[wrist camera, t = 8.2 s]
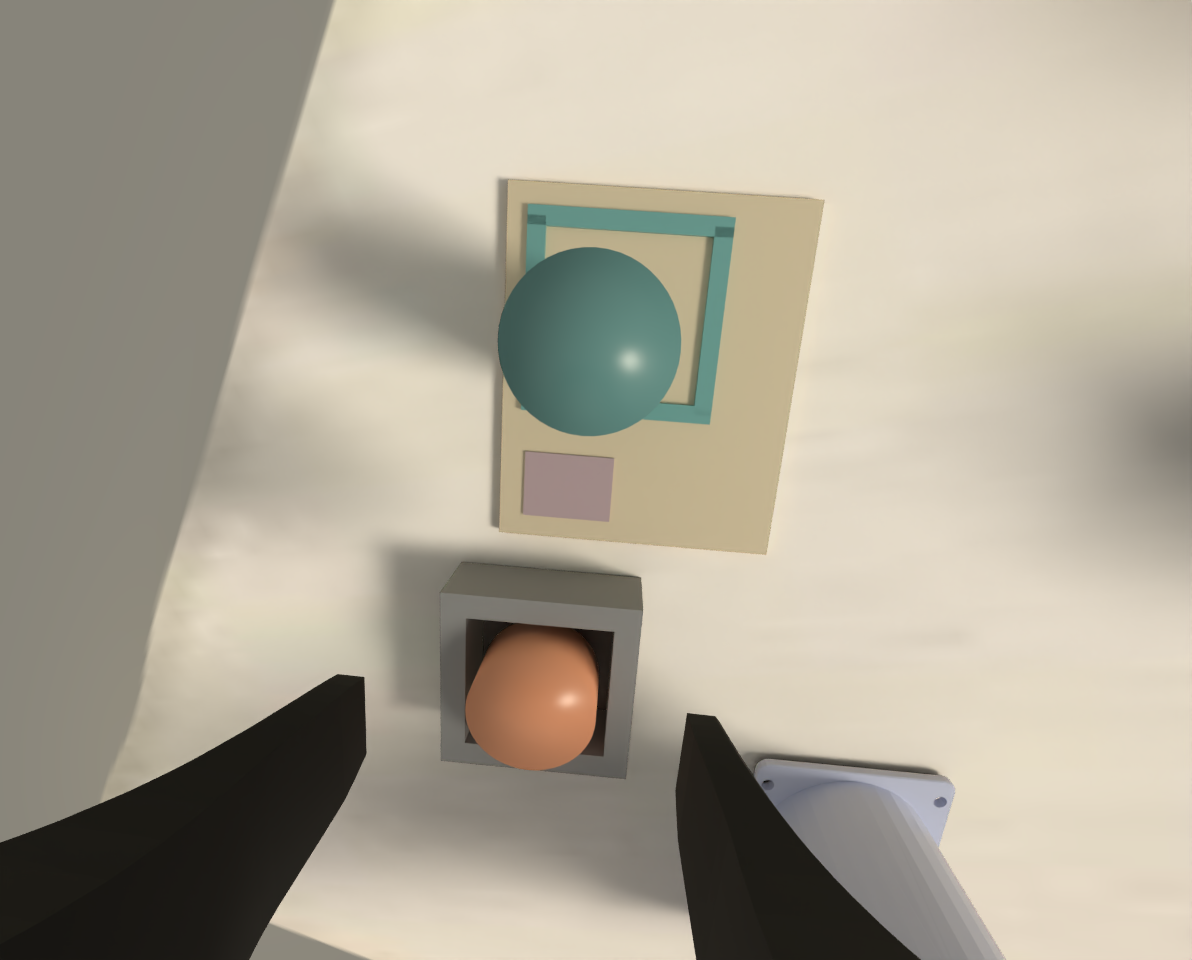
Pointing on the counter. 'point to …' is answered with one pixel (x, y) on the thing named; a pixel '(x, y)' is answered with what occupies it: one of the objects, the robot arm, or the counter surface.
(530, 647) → the button
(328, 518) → the counter surface
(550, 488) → the card sheet
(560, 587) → the button housing
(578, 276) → the teal rounded cylinder
